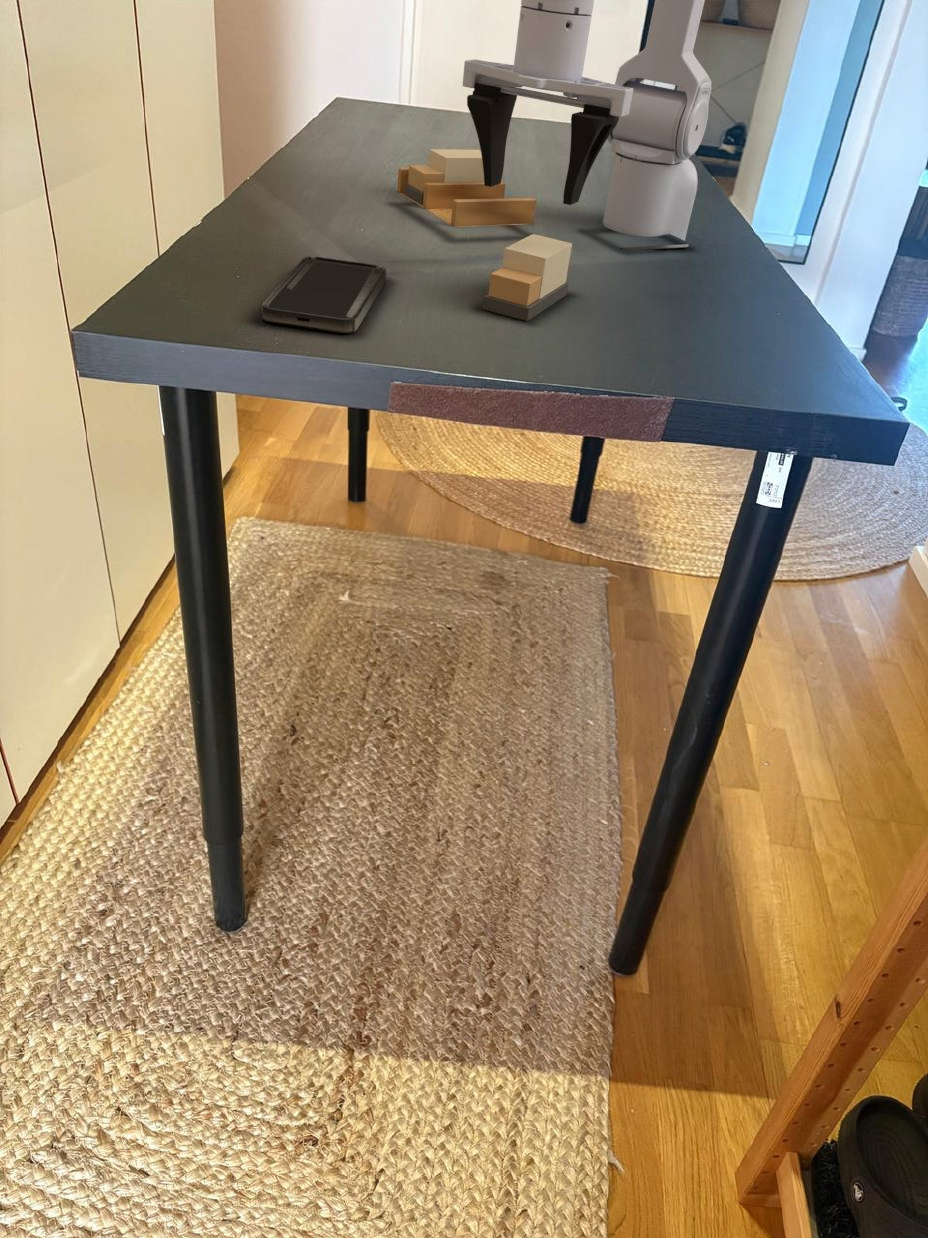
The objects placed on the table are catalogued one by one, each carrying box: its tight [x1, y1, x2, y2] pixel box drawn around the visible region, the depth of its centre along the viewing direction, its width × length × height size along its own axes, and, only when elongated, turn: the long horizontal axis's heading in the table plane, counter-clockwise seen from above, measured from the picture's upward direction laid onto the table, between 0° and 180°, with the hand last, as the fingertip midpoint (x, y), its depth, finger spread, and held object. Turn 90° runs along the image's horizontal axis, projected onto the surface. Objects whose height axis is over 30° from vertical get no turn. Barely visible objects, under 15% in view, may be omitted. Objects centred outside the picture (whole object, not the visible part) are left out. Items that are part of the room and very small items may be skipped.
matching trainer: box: [405, 148, 484, 205], centre depth 105 cm, size 10×4×5 cm, turn 118°
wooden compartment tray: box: [396, 167, 537, 228], centre depth 104 cm, size 10×14×4 cm
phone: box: [261, 256, 387, 334], centre depth 79 cm, size 8×1×15 cm
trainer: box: [482, 233, 573, 322], centre depth 83 cm, size 10×4×5 cm, turn 153°
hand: (531, 193), depth 81 cm, fingers open, 7 cm apart
